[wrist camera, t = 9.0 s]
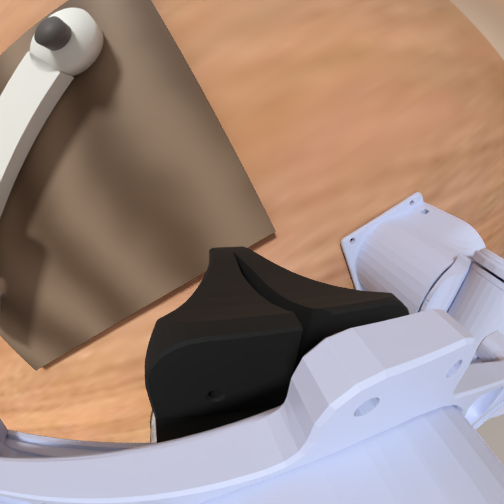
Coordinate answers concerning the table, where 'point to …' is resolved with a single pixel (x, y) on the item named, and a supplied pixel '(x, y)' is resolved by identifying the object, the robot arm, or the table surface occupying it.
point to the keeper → (0, 300)
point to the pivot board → (116, 187)
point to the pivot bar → (41, 91)
